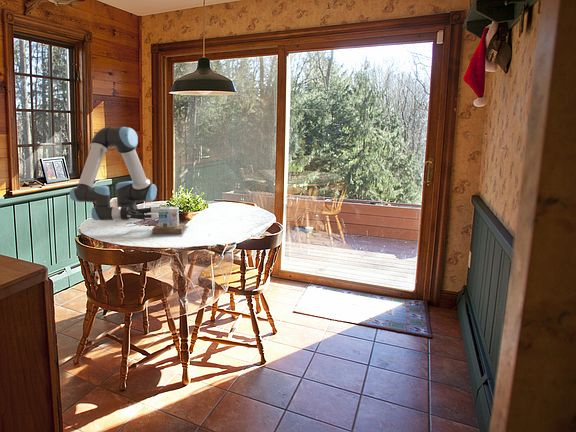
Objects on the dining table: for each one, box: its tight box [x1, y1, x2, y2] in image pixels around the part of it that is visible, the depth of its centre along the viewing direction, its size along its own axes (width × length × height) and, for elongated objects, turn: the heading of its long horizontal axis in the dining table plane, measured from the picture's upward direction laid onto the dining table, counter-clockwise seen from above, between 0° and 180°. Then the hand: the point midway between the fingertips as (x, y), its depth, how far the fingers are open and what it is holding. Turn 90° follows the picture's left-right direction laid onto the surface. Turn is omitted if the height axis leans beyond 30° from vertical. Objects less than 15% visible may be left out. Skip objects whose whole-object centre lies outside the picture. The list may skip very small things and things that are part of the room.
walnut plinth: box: [151, 222, 187, 234], centre depth 235 cm, size 14×16×3 cm
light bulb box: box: [157, 206, 180, 227], centre depth 234 cm, size 11×7×11 cm, turn 98°
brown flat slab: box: [148, 225, 189, 238], centre depth 236 cm, size 24×18×1 cm
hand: (160, 213), depth 233 cm, fingers open, 13 cm apart
